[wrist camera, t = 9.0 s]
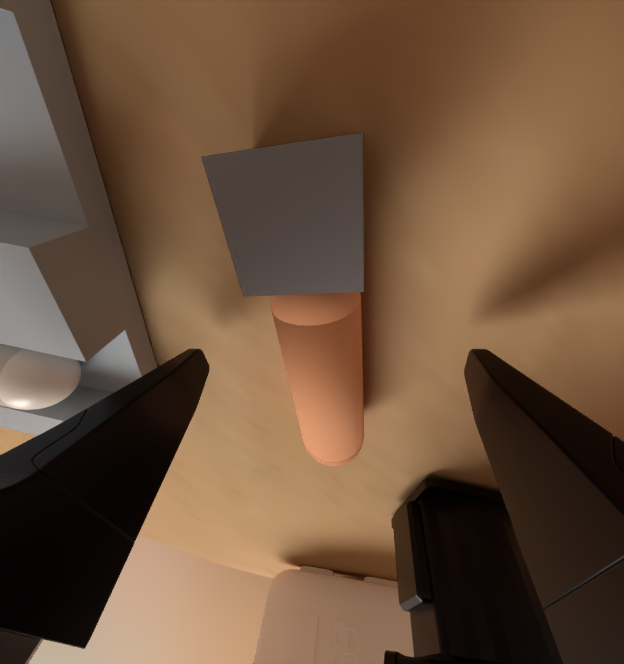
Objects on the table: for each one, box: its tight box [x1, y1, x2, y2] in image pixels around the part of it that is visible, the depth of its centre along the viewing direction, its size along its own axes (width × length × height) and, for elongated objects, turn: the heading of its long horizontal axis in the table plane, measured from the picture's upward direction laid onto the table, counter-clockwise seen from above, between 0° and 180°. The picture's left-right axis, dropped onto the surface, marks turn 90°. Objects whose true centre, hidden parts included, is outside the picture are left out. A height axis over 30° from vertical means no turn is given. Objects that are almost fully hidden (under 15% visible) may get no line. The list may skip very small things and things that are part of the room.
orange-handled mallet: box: [202, 132, 364, 466], centre depth 9 cm, size 12×3×3 cm, turn 7°
